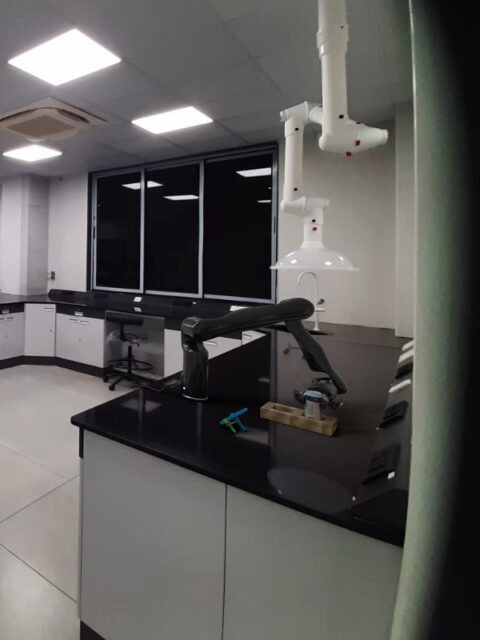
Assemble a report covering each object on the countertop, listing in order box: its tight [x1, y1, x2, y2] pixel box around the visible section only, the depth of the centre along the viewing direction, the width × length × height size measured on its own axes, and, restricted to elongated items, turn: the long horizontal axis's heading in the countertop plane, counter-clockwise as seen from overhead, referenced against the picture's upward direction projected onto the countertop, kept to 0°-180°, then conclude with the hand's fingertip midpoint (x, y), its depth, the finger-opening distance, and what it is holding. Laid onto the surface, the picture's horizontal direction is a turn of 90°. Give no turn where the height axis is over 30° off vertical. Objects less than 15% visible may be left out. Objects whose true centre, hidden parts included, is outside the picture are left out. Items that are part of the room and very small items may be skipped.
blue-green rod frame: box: [219, 407, 249, 433], centre depth 135 cm, size 11×6×10 cm
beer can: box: [304, 389, 323, 421], centre depth 140 cm, size 5×5×12 cm
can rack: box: [259, 401, 338, 437], centre depth 143 cm, size 20×11×4 cm, turn 41°
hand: (312, 403), depth 138 cm, fingers closed on beer can, 4 cm apart
